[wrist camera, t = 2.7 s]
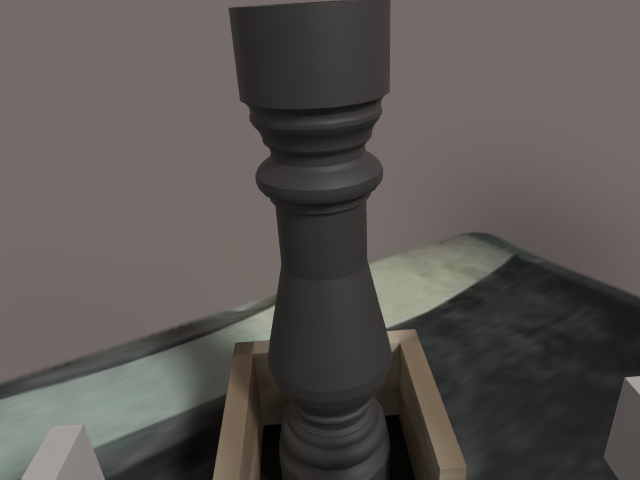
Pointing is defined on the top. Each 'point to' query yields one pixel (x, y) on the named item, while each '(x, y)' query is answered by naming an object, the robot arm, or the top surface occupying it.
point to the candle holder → (322, 224)
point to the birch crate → (395, 397)
